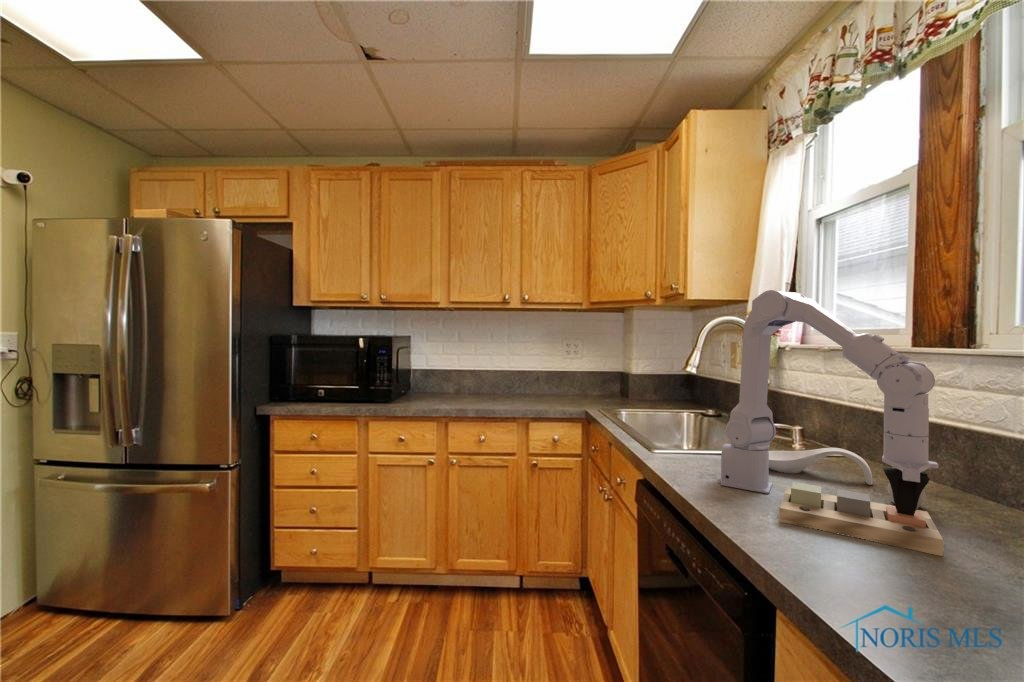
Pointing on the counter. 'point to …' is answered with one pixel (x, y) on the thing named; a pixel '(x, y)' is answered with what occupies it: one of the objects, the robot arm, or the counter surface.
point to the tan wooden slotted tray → (863, 524)
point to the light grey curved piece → (811, 460)
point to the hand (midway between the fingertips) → (905, 513)
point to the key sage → (806, 494)
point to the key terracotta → (905, 517)
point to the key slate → (853, 503)
